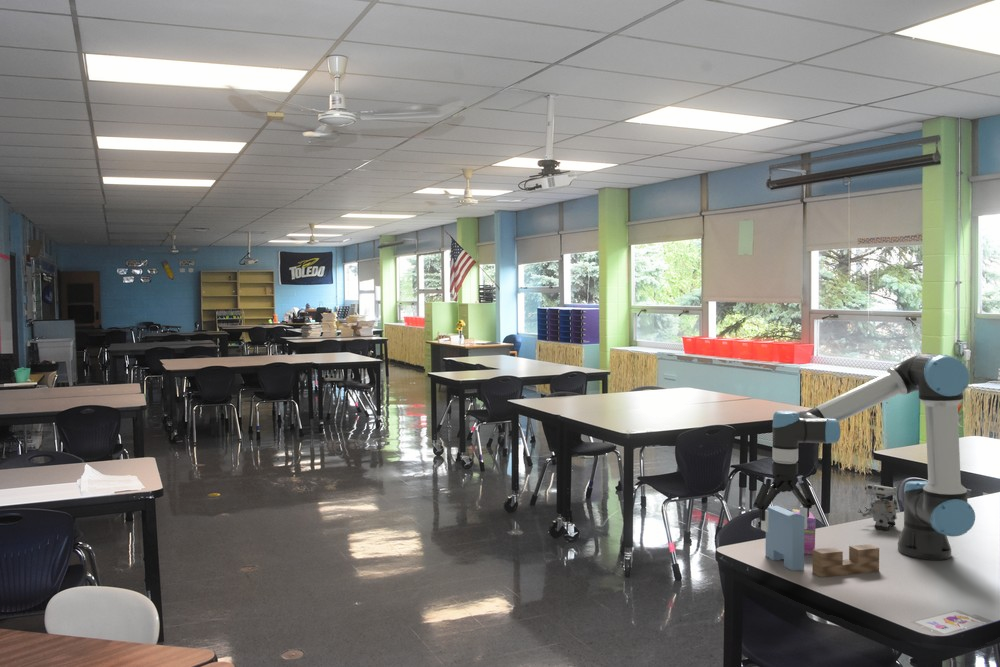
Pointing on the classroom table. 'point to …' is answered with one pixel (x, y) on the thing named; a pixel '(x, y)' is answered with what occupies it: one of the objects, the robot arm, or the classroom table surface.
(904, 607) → the classroom table surface
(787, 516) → the board
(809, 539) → the box
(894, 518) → the figurine
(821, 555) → the rail
